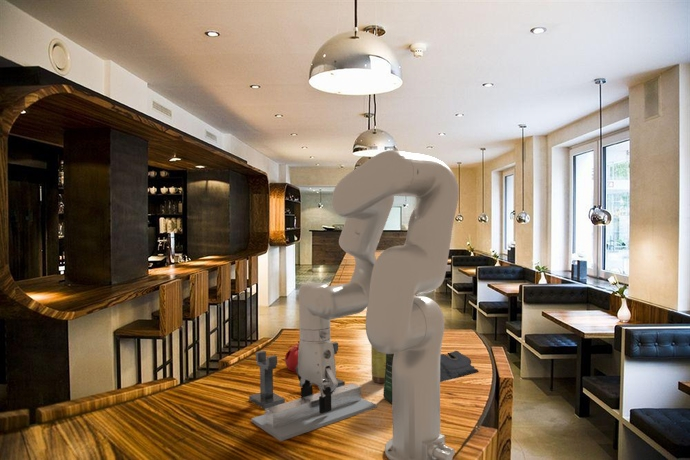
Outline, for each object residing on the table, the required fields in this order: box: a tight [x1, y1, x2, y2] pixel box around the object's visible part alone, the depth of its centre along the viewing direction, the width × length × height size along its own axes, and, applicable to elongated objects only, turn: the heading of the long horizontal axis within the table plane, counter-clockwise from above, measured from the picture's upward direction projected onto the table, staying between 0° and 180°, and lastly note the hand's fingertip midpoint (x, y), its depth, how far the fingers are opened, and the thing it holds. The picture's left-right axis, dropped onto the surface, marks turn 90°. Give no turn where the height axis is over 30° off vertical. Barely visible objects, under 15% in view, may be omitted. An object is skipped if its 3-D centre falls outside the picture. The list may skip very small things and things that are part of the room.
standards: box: [248, 341, 346, 410], centre depth 129 cm, size 8×26×12 cm, turn 129°
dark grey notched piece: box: [440, 350, 480, 383], centre depth 147 cm, size 15×22×5 cm
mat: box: [250, 397, 377, 442], centre depth 115 cm, size 13×28×1 cm, turn 129°
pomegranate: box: [284, 340, 300, 373], centre depth 150 cm, size 10×10×9 cm
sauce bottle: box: [370, 344, 386, 385], centre depth 138 cm, size 6×6×20 cm
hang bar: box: [264, 382, 362, 429], centre depth 115 cm, size 4×26×4 cm, turn 129°
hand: (315, 406), depth 115 cm, fingers open, 7 cm apart
